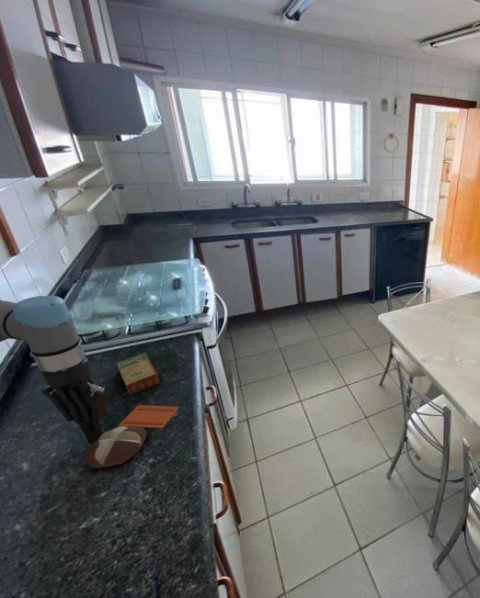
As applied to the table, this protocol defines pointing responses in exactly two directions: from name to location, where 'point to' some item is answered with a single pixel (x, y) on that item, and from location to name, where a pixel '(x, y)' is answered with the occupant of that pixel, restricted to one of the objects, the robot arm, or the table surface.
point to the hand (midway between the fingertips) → (96, 439)
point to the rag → (149, 416)
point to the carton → (138, 373)
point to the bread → (115, 446)
